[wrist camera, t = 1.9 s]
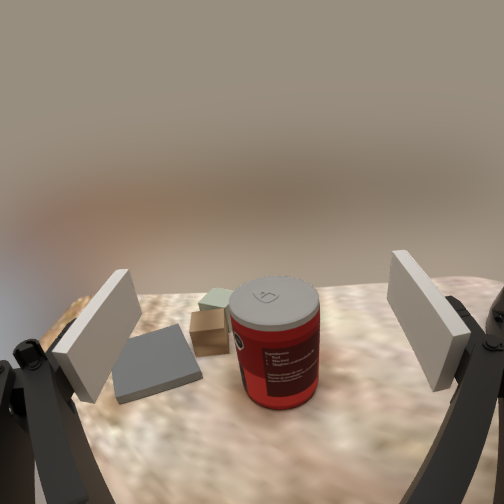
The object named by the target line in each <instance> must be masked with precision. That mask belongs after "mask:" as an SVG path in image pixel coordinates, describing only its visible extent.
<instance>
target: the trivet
mask: <svg viewBox="0 0 504 504" xmlns="http://www.w3.org/2000/svg"><path fill="white" fill-rule="evenodd" d="M112 377H113V384H114V390H115V396H116V399H117V401H118V402H119V404H122V403H126V402H129V401H133V400H136V399H140V398H143V397H146V396H150V395H153V394H156V393H159V392H163V391H166V390H169V389H172V388H175V387H178V386H181V385H184V384H187V383H190V382H193V381H196V380H199V379H201V378H203V376H202V373H201V370H200V368H199V366H198V364H197V362H196V360H195V358H194V356H193V354H192V352H191V350H190V348H189V346H188V344H187V341H186V339H185V337H184V335H183V333H182V331H181V329H180V327H179V324H175V325H172V326H169V327H166V328H163V329H160V330H156V331H153V332H150V333H147V334H143V335H140V336H137V337H134V338H130V339H128V340H127V342H126V344H125V346H124V348H123V350H122V352H121V354H120V355H119V357H118V359H117V361H116V363H115V365H114V367H113V369H112Z"/></svg>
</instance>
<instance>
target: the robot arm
mask: <svg viewBox="0 0 504 504" xmlns="http://www.w3.org/2000/svg"><path fill="white" fill-rule="evenodd" d="M387 300H388V302H389V304H390V306H391V308H392V310H393V312H394V314H395V315H396V317H397V319H398V321H399V323H400V325H401V327H402V329H403V331H404V333H405V335H406V337H407V339H408V341H409V343H410V345H411V347H412V349H413V351H414V353H415V355H416V357H417V359H418V361H419V363H420V365H421V367H422V369H423V371H424V374H425V376H426V378H427V380H428V382H429V384H430V387H431V389H432V391H433V392H436V391H440V390H444V389H448V388H450V386H451V384H452V382H453V379H454V377H455V379H456V381H457V383H458V386H457V389H456V391H455V393H454V395H453V397H452V399H451V401H450V403H451V404H450V406H449V409H448V411H447V413H446V416H445V418H444V420H443V423H442V425H441V427H440V429H439V432H438V434H437V436H436V438H435V440H434V442H433V444H432V446H431V448H430V450H429V452H428V454H427V456H426V458H425V460H424V462H423V464H422V466H421V468H420V469H419V471H418V473H417V475H416V477H415V478H414V480H413V482H412V484H411V485H410V487H409V489H408V490H407V492H406V494H405V495H404V497H403V499H402V500H401V502H400V503H399V504H461V503H462V501H463V498H464V496H465V494H466V492H467V489H468V487H469V484H470V482H471V480H472V477H473V475H474V472H475V469H476V467H477V464H478V461H479V459H480V456H481V453H482V450H483V447H484V444H485V441H486V438H487V434H488V431H489V428H490V424H491V421H492V417H493V413H494V409H495V405H496V401H497V398H498V404H499V444H498V463H497V475H496V485H495V493H494V501H493V504H504V287H503V288H502V290H501V291H500V293H499V294H498V296H497V297H496V299H495V300H494V302H493V304H492V306H491V308H490V311H489V314H488V318H487V321H486V332H487V334H485V332H484V331H483V330H482V328H481V327H480V326H479V325H478V323H477V322H476V321H475V319H474V318H473V317H472V316H471V314H470V313H469V312H468V310H466V308H465V307H464V305H463V304H462V303H461V302H460V301H459V300H457V299H456V298H454V297H453V296H445V297H444V295H443V294H442V293H441V292H440V290H439V289H438V288H437V287H436V285H435V284H434V283H433V282H432V280H431V279H430V278H429V277H428V276H427V275H426V273H425V272H424V271H423V270H422V268H421V267H420V266H419V265H418V264H417V263H416V261H415V260H414V259H413V258H412V256H411V255H410V254H409V253H408V252H407V251H406V250H398V251H392V257H391V267H390V276H389V285H388V293H387ZM141 315H142V311H141V308H140V305H139V301H138V298H137V295H136V292H135V288H134V285H133V281H132V278H131V275H130V271H129V269H121V270H116V271H115V272H114V273H113V275H112V276H111V277H110V278H109V279H108V280H107V282H106V283H105V284H104V285H103V286H102V288H101V289H100V290H99V291H98V292H97V294H96V295H95V296H94V297H93V299H92V300H91V301H90V302H89V304H88V305H87V306H86V307H85V309H84V310H83V311H82V312H81V314H80V315H79V316H78V317H77V318H75V319H73V320H72V321H71V322H69V323H68V324H67V325H66V326H65V328H64V329H63V330H62V333H60V334H59V335H58V338H56V339H55V341H54V342H53V343H52V345H51V346H50V347H49V349H48V350H47V351H46V353H44V351H43V349H42V347H41V345H40V343H39V341H38V340H36V339H28V340H25V341H23V342H21V343H20V344H19V345H18V346H16V348H15V349H14V351H13V355H14V357H15V359H16V360H17V362H18V364H19V366H20V367H21V368H17V369H13V368H12V367H11V365H10V364H9V362H8V361H6V360H1V361H0V504H35V486H34V485H35V484H34V482H35V480H34V469H35V461H36V465H37V470H38V474H39V477H40V481H41V485H42V488H43V492H44V495H45V499H46V502H47V504H116V503H115V501H114V499H113V498H112V495H111V493H110V491H109V489H108V487H107V485H106V483H105V481H104V479H103V476H102V474H101V472H100V470H99V467H98V465H97V463H96V460H95V458H94V456H93V453H92V451H91V448H90V446H89V443H88V441H87V438H86V435H85V433H84V430H83V427H82V424H81V421H80V419H79V416H78V413H77V410H76V407H75V403H74V402H73V400H72V399H71V397H72V395H73V393H74V392H75V393H76V395H77V396H78V398H79V400H80V401H83V402H88V403H94V404H95V402H96V400H97V398H98V396H99V394H100V392H101V390H102V388H103V386H104V384H105V382H106V380H107V378H108V377H109V375H110V373H111V371H112V369H113V367H114V365H115V363H116V361H117V359H118V357H119V355H120V354H121V352H122V350H123V348H124V346H125V344H126V342H127V340H128V339H129V337H130V335H131V333H132V331H133V329H134V328H135V326H136V324H137V322H138V320H139V319H140V317H141ZM9 408H10V409H11V411H10V410H9Z"/></svg>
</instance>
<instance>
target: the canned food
mask: <svg viewBox="0 0 504 504" xmlns="http://www.w3.org/2000/svg"><path fill="white" fill-rule="evenodd" d="M229 312H230V318H231V324H232V330H233V335H234V340H235V345H236V350H237V356H238V361H239V366H240V371H241V376H242V381H243V385H244V388H245V390H246V391H247V393H248V394H249V396H250V397H251V398H252V399H253V400H254V401H255V402H257V403H258V404H260V405H262V406H264V407H267V408H272V409H289V408H293V407H296V406H298V405H301V404H303V403H304V402H305V401H307V400H308V399H309V398H310V397H311V396H312V394H313V392H314V390H315V388H316V387H317V383H318V372H319V343H320V302H319V295H318V292H317V290H316V289H315V288H314V287H313V286H312V285H310V284H309V283H307V282H305V281H303V280H301V279H297V278H293V277H288V276H268V277H261V278H257V279H254V280H250V281H248V282H246V283H244V284H242V285H241V286H239V287H237V288H236V289H235V290H234V291H233V292H232V294H231V295H230V298H229Z"/></svg>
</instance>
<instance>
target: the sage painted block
mask: <svg viewBox="0 0 504 504" xmlns="http://www.w3.org/2000/svg"><path fill="white" fill-rule="evenodd" d="M233 291H234V290H228V289H222V288H216V287H213V289H211V290H210V291H209V292H208V293H207V294H206V295H205V296H204V297H203V298H202V299H201V300H200V301H199V302H198V304H199V308H200V311H206V310H214V309H222V308H224V313H225V318H226V323H227V328H228V332H229V333H230V332H231V330H232V324H231V318H230V312H229V298H230V295H231V294H232V292H233Z"/></svg>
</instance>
